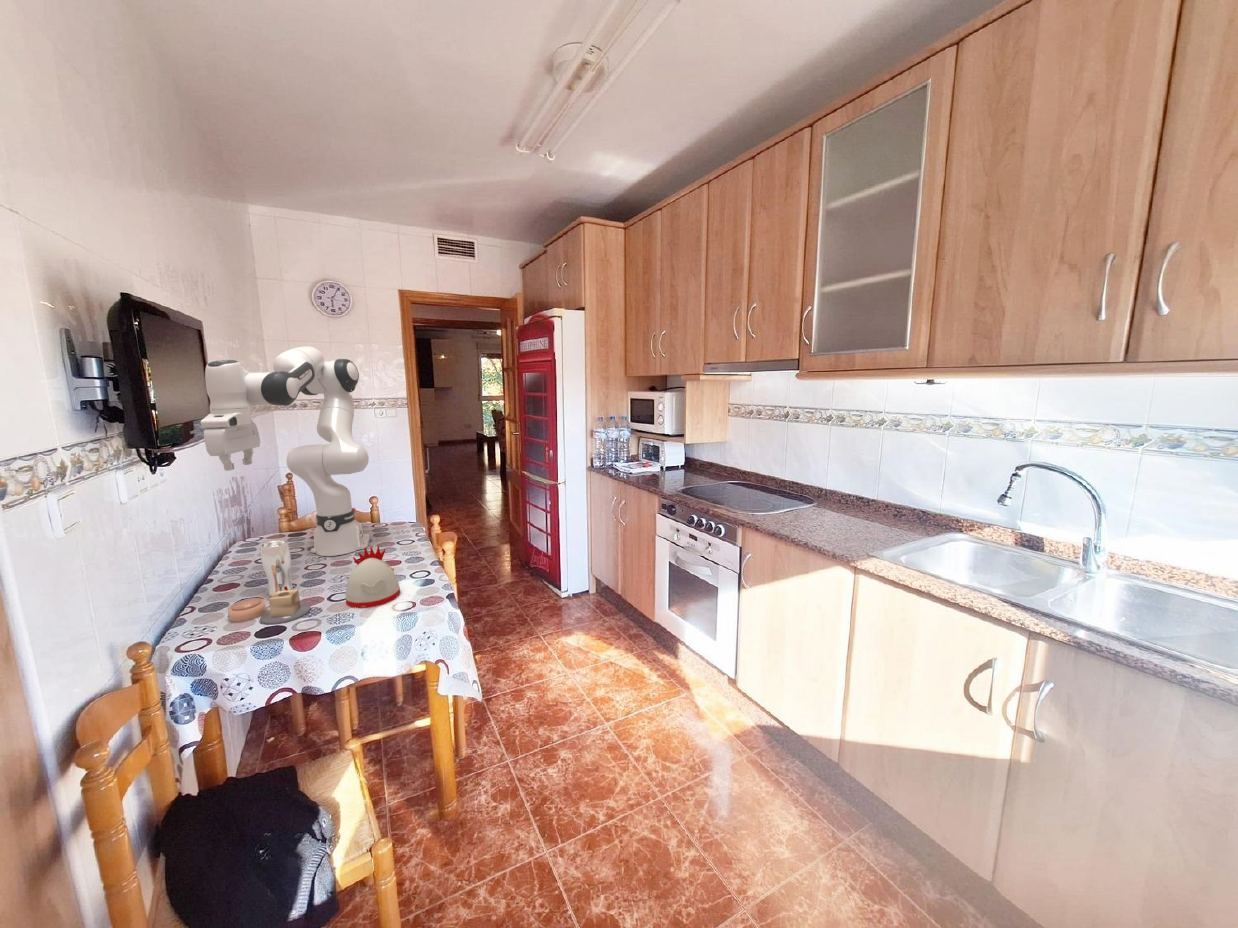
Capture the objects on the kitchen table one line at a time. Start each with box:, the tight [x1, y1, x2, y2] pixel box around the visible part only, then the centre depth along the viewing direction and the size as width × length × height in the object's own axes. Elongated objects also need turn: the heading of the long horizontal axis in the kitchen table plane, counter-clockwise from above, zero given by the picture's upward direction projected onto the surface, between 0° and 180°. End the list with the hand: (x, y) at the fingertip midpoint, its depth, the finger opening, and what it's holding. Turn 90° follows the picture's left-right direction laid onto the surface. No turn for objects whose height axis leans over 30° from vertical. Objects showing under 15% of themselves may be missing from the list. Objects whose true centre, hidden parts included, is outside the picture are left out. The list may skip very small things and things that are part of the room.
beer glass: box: [260, 539, 294, 597], centre depth 143 cm, size 7×7×15 cm
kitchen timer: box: [345, 545, 401, 609], centre depth 139 cm, size 14×14×15 cm
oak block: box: [268, 589, 301, 617], centre depth 130 cm, size 5×5×5 cm
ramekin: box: [227, 597, 268, 623], centre depth 130 cm, size 8×8×4 cm
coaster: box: [260, 602, 312, 625], centre depth 130 cm, size 11×11×1 cm
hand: (239, 467), depth 140 cm, fingers open, 8 cm apart
